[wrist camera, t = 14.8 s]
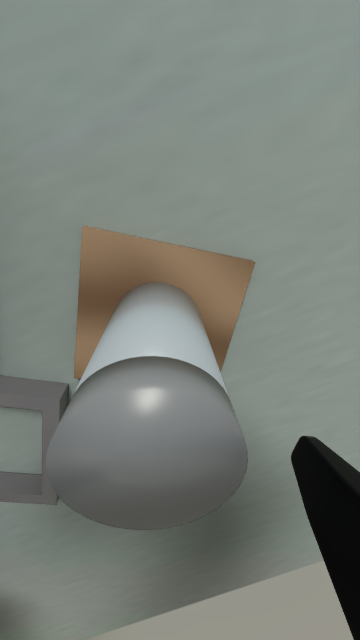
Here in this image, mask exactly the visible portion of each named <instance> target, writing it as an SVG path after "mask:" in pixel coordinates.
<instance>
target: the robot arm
mask: <svg viewBox="0 0 360 640" xmlns="http://www.w3.org/2000/svg"><path fill="white" fill-rule="evenodd" d="M291 461H292V465H293V468H294V472H295V475H296V479H297V482H298V486H299V489H300V493H301V496H302V500H303V503H304V507H305V510H306V513H307V516H308V519H309V522H310V525H311V527H312V530H313V533H314V535H315V538H316V541H317V543H318V546H319V549H320V551H321V554H322V557H323V559H324V562H325V564H326V567H327V570H328V572H329V575H330V578H331V580H332V583H333V586H334V588H335V591H336V593H337V596H338V599H339V601H340V604H341V607H342V609H343V612H344V615H345V617H346V620H347V623H348V625H349V628H350V631H351V633H352V636H353V638H354V640H360V472H359V471H357V470H356V469H355V468H354V467H352V466H351V465H350V464H349V463H347V462H346V461H345V460H344V459H342V458H341V457H340V456H339V455H337V454H336V453H335V452H334V451H332V450H331V449H330V448H328V447H327V446H326V445H325V444H323V443H322V442H321V441H320V440H318V439H317V438H315V437H311V436H302V437H300V439H299V440H298V442H297V444H296V446H295V448H294V450H293V452H292V455H291Z"/></svg>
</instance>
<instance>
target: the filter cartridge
mask: <svg viewBox="0 0 360 640" xmlns="http://www.w3.org/2000/svg"><path fill="white" fill-rule="evenodd" d="M247 462H248V457H247V448H246V443H245V441H244V438H243V435H242V432H241V429H240V426H239V424H238V421H237V418H236V415H235V412H234V410H233V407H232V404H231V401H230V398H229V395H228V393H227V390H226V387H225V384H224V381H223V379H222V376H221V373H220V370H219V367H218V365H217V362H216V359H215V356H214V353H213V350H212V348H211V345H210V342H209V339H208V336H207V334H206V331H205V328H204V325H203V322H202V319H201V317H200V314H199V311H198V309H197V306H196V304H195V303H194V301H193V300H192V298H191V297H190V296H189V295H188V294H187V293H186V292H184V291H183V290H182V289H180V288H178V287H176V286H174V285H171V284H167V283H161V282H151V283H145V284H142V285H139V286H137V287H135V288H133V289H131V290H130V291H129V292H127V293H126V294H125V295H124V296H123V297H122V298H121V300H120V301H119V303H118V305H117V306H116V308H115V310H114V313H113V315H112V317H111V319H110V321H109V323H108V325H107V327H106V329H105V331H104V333H103V335H102V337H101V339H100V341H99V343H98V345H97V347H96V349H95V351H94V353H93V355H92V357H91V359H90V361H89V363H88V366H87V368H86V370H85V372H84V374H83V376H82V378H81V380H80V382H79V384H78V386H77V388H76V390H75V392H74V394H73V396H72V398H71V400H70V402H69V404H68V406H67V408H66V410H65V412H64V414H63V417H62V419H61V421H60V423H59V425H58V427H57V429H56V431H55V433H54V435H53V437H52V439H51V441H50V443H49V446H48V450H47V454H46V471H47V475H48V478H49V481H50V483H51V485H52V487H53V489H54V490H55V492H56V493H57V495H58V496H59V497H60V498H61V499H62V500H63V501H64V502H65V503H66V504H67V505H68V506H69V507H71V508H72V509H73V510H75V511H76V512H78V513H79V514H81V515H83V516H85V517H87V518H89V519H91V520H93V521H96V522H99V523H102V524H105V525H109V526H113V527H118V528H124V529H134V530H152V529H163V528H169V527H174V526H178V525H182V524H185V523H189V522H192V521H194V520H197V519H199V518H201V517H203V516H205V515H207V514H209V513H211V512H212V511H214V510H215V509H217V508H219V507H220V506H221V505H222V504H223V503H225V502H226V501H227V500H228V499H229V498H230V497H231V496H232V495H233V494H234V492H235V491H236V490H237V488H238V487H239V485H240V484H241V482H242V480H243V478H244V475H245V472H246V468H247Z"/></svg>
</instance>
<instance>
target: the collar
mask: <svg viewBox="0 0 360 640" xmlns="http://www.w3.org/2000/svg"><path fill="white" fill-rule="evenodd" d="M67 400H68V384H64V383H56V382H48V381H39V380H31V379H23V378H15V377H6V376H0V406H3V407H12V408H22V409H31V410H41V411H42V475H36V474H22V473H8V472H0V502H16V503H33V504H51V505H57V502H58V499H59V496H58V495H57V493H56V492H55V490H54V489H53V487H52V485H51V483H50V481H49V478H48V475H47V471H46V454H47V450H48V446H49V443H50V441H51V439H52V437H53V435H54V433H55V431H56V429H57V427H58V425H59V423H60V421H61V419H62V417H63V414H64V412H65V410H66V408H67Z"/></svg>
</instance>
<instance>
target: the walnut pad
mask: <svg viewBox="0 0 360 640" xmlns="http://www.w3.org/2000/svg"><path fill="white" fill-rule="evenodd" d="M254 265H255V262H253V261H252V260H247V259H242V258H237V257H232V256H227V255H223V254H218V253H213V252H208V251H203V250H199V249H194V248H189V247H184V246H179V245H174V244H170V243H165V242H160V241H155V240H150V239H145V238H141V237H136V236H131V235H126V234H121V233H117V232H112V231H107V230H102V229H97V228H92V227H88V226H84V227H82V244H81V261H80V279H79V297H78V315H77V332H76V350H75V368H74V378H78V379H81V378H82V376H83V374H84V372H85V370H86V368H87V366H88V363H89V361H90V359H91V357H92V355H93V353H94V351H95V349H96V347H97V345H98V343H99V341H100V339H101V337H102V335H103V333H104V331H105V329H106V327H107V325H108V323H109V321H110V319H111V317H112V315H113V313H114V310H115V308H116V306H117V305H118V303H119V301H120V300H121V298H122V297H123V296H124V295H125V294H126V293H127V292H129V291H130V290H131V289H133V288H135V287H137V286H139V285H142V284H145V283H151V282H161V283H167V284H171V285H174V286H176V287H178V288H180V289H182V290H183V291H184V292H186V293H187V294H188V295H189V296H190V297H191V298H192V300H193V301H194V303H195V304H196V306H197V309H198V311H199V314H200V317H201V319H202V322H203V325H204V328H205V331H206V334H207V336H208V339H209V342H210V345H211V348H212V350H213V353H214V356H215V359H216V362H217V365H218V367H219V370H220V372H221V369H222V366H223V363H224V359H225V356H226V353H227V350H228V347H229V344H230V341H231V337H232V334H233V331H234V328H235V325H236V322H237V318H238V315H239V312H240V309H241V306H242V303H243V300H244V296H245V293H246V290H247V287H248V284H249V281H250V278H251V274H252V271H253V268H254Z"/></svg>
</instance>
